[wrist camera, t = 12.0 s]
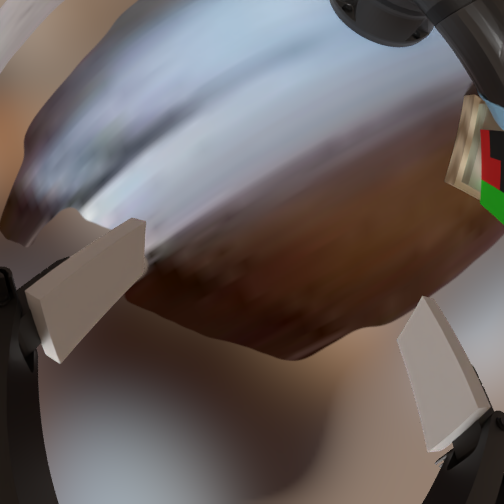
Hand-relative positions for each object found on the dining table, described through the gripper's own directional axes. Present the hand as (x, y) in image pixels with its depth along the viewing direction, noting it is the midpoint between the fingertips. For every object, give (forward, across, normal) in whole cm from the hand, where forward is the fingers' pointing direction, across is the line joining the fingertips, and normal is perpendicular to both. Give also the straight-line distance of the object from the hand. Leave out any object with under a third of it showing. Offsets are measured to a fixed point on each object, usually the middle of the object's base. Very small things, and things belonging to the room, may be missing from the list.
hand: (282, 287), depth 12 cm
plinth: (+27, +28, +14) cm, 41 cm away
